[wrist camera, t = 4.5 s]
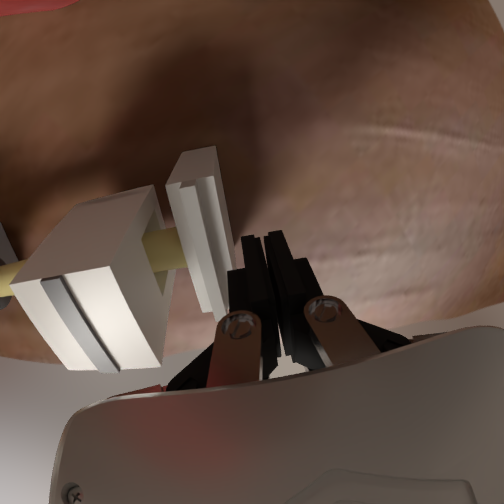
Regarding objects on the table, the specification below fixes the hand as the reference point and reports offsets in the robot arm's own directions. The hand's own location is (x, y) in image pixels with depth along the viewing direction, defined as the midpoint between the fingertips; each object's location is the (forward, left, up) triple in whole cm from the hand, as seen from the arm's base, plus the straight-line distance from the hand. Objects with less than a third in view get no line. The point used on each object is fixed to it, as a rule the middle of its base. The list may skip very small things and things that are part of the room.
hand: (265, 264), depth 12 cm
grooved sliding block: (+7, 0, -5) cm, 9 cm away
